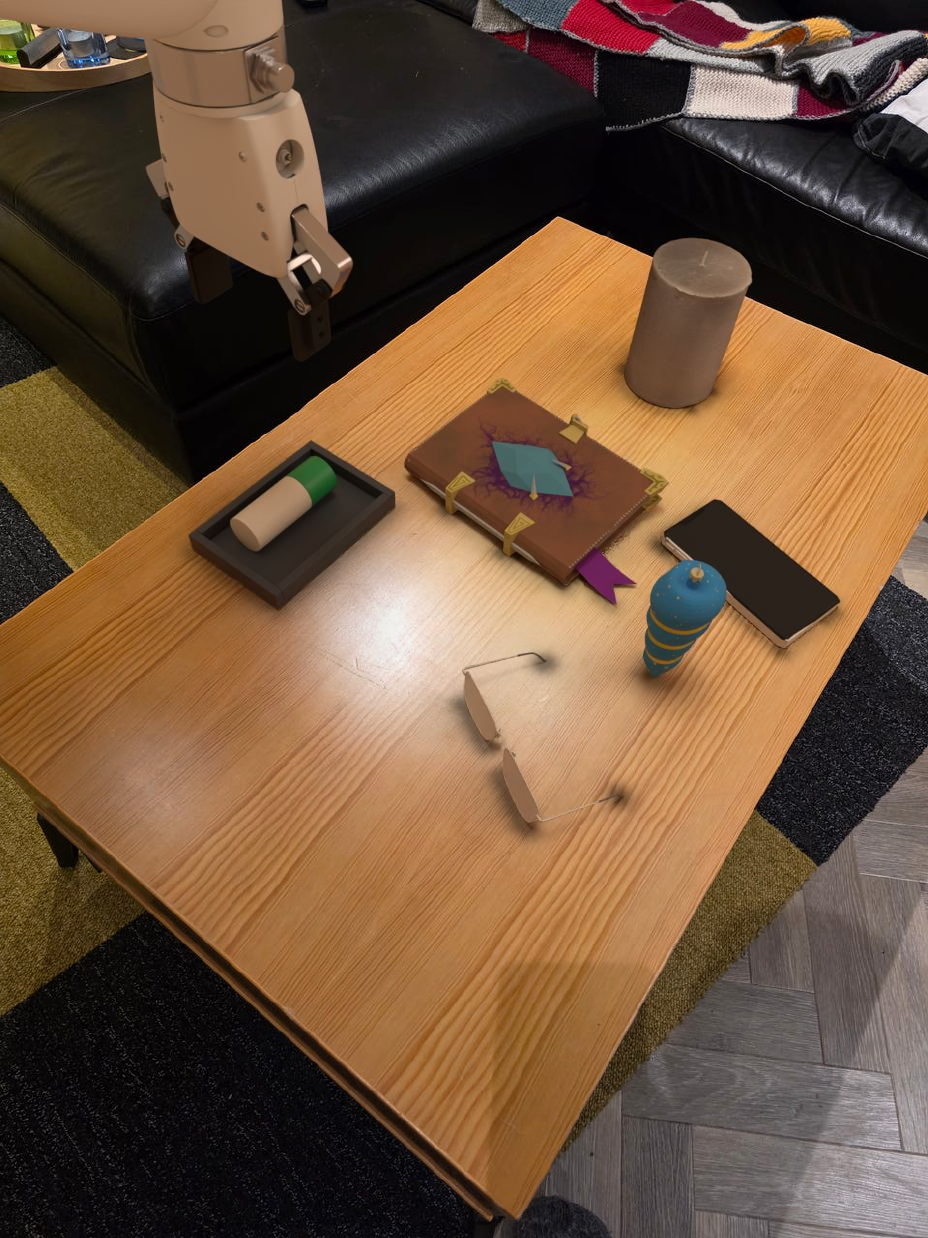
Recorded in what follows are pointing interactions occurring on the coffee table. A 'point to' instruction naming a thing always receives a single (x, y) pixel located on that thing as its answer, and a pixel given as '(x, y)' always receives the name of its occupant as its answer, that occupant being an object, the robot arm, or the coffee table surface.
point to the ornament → (680, 613)
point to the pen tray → (296, 530)
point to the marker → (283, 503)
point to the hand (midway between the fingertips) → (262, 321)
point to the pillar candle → (686, 321)
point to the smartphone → (752, 572)
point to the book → (537, 484)
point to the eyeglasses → (506, 749)
